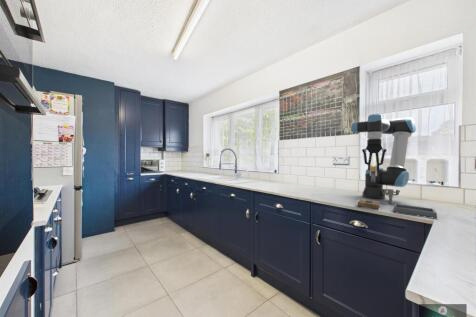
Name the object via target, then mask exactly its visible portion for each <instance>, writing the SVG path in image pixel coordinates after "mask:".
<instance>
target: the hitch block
mask: <svg viewBox="0 0 476 317" xmlns="http://www.w3.org/2000/svg"><path fill="white" fill-rule="evenodd" d="M357 207H358V208H362V207H364V208H363V209H369V208H370V209H371V210H377V211H378V209H379V208H380V201H376V200H368V199H362V198H360V199H359V200H358V201H357Z"/></svg>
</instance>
